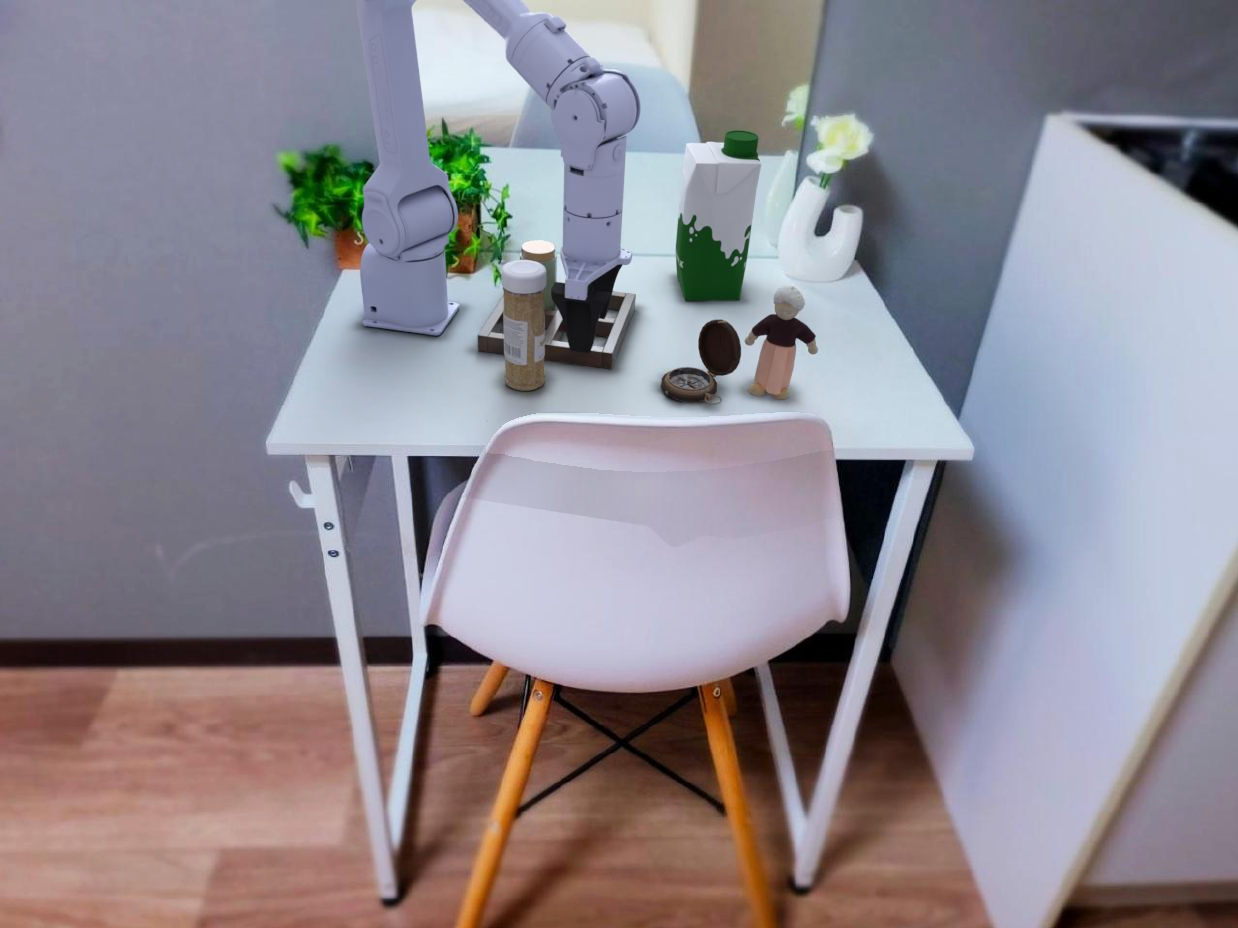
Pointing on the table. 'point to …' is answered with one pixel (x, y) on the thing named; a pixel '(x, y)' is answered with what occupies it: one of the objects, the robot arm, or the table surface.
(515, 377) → the sprinkles bottle
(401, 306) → the robot arm
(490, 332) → the holder
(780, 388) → the grandmother figurine
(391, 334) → the table surface
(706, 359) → the compass
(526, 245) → the spice jar
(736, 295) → the milk carton
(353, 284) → the table surface
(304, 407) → the table surface
